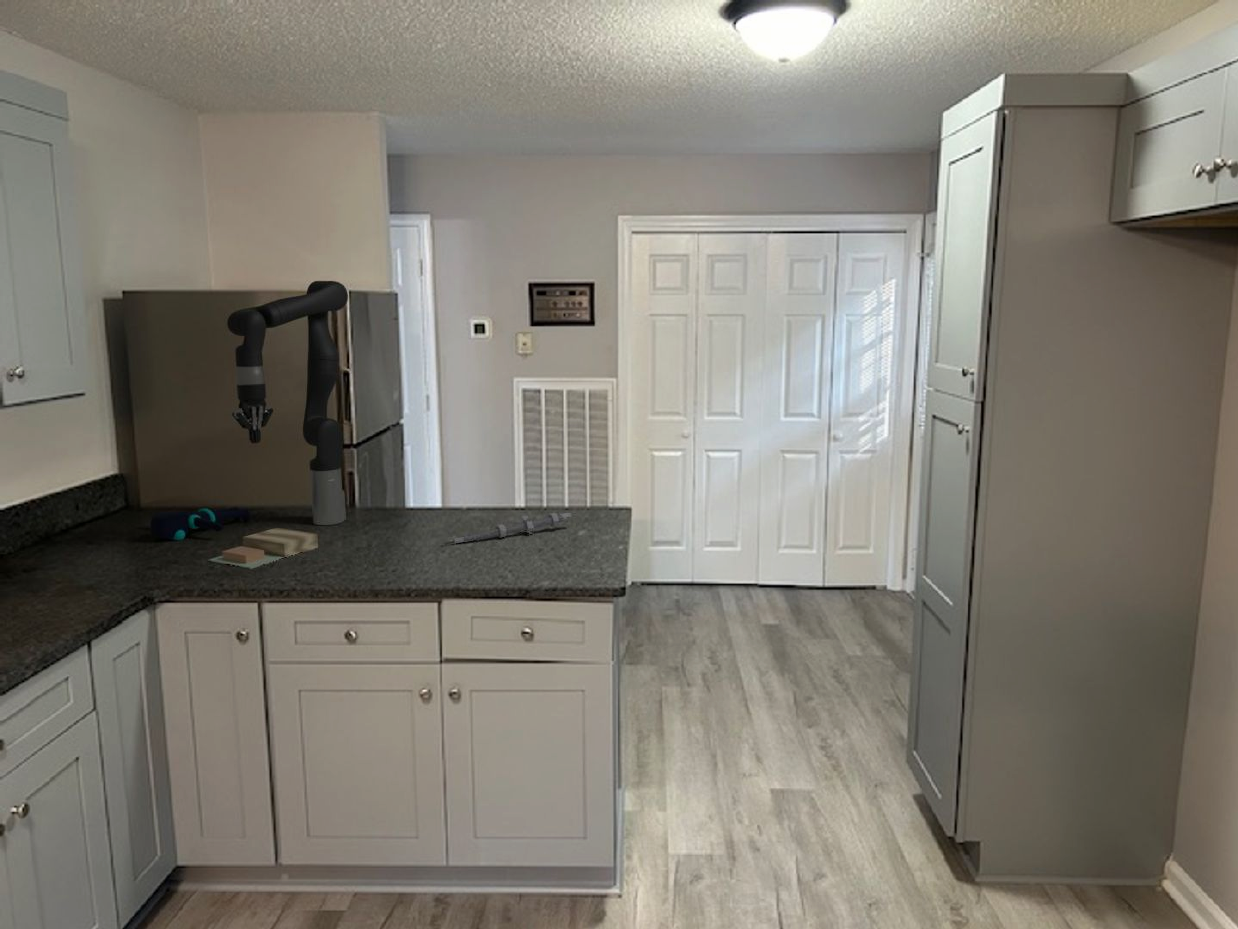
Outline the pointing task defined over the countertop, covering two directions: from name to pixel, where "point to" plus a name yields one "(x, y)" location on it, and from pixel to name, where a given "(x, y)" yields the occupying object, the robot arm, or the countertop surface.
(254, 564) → the mat
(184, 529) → the toy
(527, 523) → the adjustable rod
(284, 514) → the countertop surface
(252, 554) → the tile
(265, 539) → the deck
